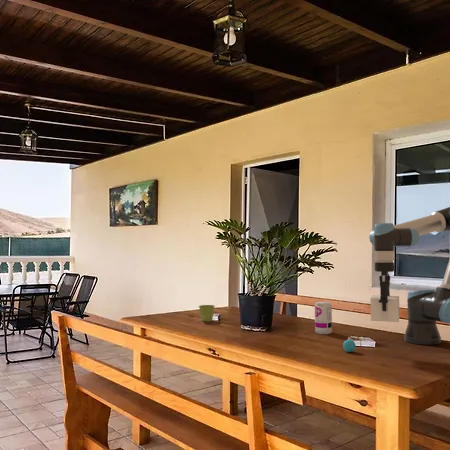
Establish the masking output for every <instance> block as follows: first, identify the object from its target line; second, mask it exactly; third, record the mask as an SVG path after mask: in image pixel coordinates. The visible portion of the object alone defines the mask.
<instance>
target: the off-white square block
mask: <svg viewBox="0 0 450 450" xmlns="http://www.w3.org/2000/svg"><path fill="white" fill-rule="evenodd" d="M379 300H380V295H379V294H378V295H377V294H376V295H374V294H373V295H371V297H370V321H371V322H387V323H389V322H390V323H399V322H400V318H401V317H400V295H390V296H388V302H387V303H388V320H383V319H381V303H379Z"/></svg>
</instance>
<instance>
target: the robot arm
mask: <svg viewBox="0 0 450 450" xmlns="http://www.w3.org/2000/svg"><path fill="white" fill-rule="evenodd" d="M373 227H374V229H373V230H372V231H371V232H370V233H369V236H368V237H369V242H370V243H371V245H373V246H374V253H372V256H373V257H374V261H375V262H374V271H375V272H376V273H377V272H378V273H379V272H380V273H381V274H380V275H379V277H378V280H379V287H380V289H379V291H380V293H379V294H380V295H379V296H380V300H379V303H381V319H383V320H388V303H387V302H388V296H391V294H390V285H391V282H390V281H391V276H390V274H389V273H391V272H395V270H396V269H395V268H396V267H395V262H394V261H395V248H397V247H401V248H402V247H408V248H409V247H415V246H417V245H418V243H419V242H420V236H423V235H424V236H425V235H427V234H430V233H434V232H435V233H442V232H449V231H450V206H449V207H448V206H447V207H446V208H442V209H439V210H436V211H434V212H431V213H430V215H426V216H423V217H420V218H416V219H413V220H410V221H409V220H408V221H406V222H402V223H398V224H395V225H394V223H392V222H381V223H380V222H379V223H375V224H374V226H373ZM406 300H407V326H406V329H405V332H404V337H403V338H404V341H405V342H407V343H410V344H416V345H422V346H423V345H425V346H427V345H428V346H429V345H431V346H433V345H439V344H441V343H442V336H441V334H440V332H439V329H438V326H437V322H440V323H444V324H449V325H450V258H448V263H447V266H446V270H445V273H444V276H443V280H442V283H441V284H440V285H438V286H436V289H416V290H415V289H414V290H409V291H408V292H407V299H406Z"/></svg>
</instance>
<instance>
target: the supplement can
mask: <svg viewBox="0 0 450 450" xmlns="http://www.w3.org/2000/svg"><path fill="white" fill-rule="evenodd" d="M332 311H333V308H332V304H331V302H330V301H316V302H315V304H314V332H315V333H316V334H319V335H330V334H332V332H333V313H332Z"/></svg>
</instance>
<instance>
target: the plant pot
mask: <svg viewBox="0 0 450 450" xmlns="http://www.w3.org/2000/svg"><path fill="white" fill-rule="evenodd" d="M215 307H216V306H215V305H214V304H201V305H198V308H199V311H200V317H201V319H200V320H201V322H206V323H208V322H209V323H210V322H213V317H214V310H215Z"/></svg>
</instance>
